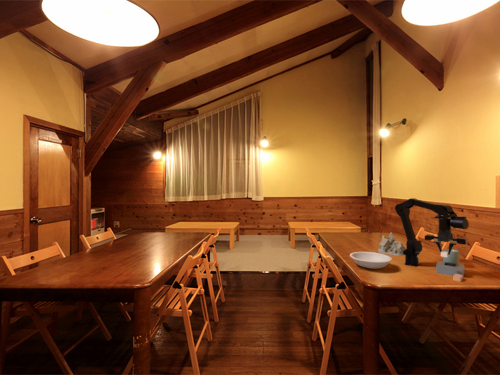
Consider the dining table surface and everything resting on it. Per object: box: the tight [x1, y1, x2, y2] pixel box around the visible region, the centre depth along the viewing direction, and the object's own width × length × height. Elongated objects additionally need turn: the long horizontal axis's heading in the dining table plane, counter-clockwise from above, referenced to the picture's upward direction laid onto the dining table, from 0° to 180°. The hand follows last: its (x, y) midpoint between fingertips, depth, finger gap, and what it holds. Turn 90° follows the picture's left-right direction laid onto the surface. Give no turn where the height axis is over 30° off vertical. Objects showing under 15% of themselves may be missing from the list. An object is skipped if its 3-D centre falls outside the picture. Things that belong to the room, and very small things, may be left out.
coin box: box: [435, 260, 465, 279], centre depth 146 cm, size 12×9×5 cm
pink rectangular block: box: [452, 274, 464, 282], centre depth 136 cm, size 3×5×2 cm, turn 129°
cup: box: [442, 248, 460, 264], centre depth 158 cm, size 8×8×10 cm
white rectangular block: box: [440, 250, 449, 258], centre depth 146 cm, size 3×5×2 cm, turn 131°
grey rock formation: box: [377, 232, 406, 257], centre depth 191 cm, size 16×16×15 cm
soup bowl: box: [349, 251, 393, 270], centre depth 159 cm, size 24×24×7 cm
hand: (445, 254), depth 146 cm, fingers closed on white rectangular block, 3 cm apart
